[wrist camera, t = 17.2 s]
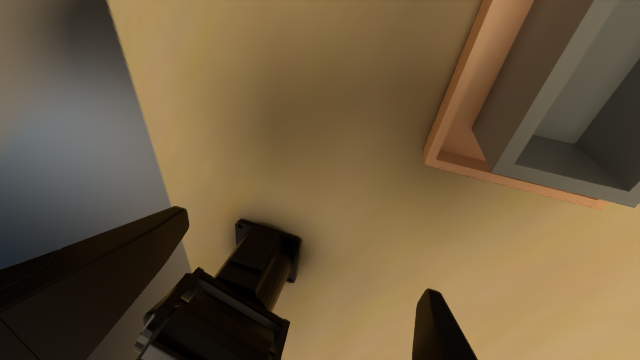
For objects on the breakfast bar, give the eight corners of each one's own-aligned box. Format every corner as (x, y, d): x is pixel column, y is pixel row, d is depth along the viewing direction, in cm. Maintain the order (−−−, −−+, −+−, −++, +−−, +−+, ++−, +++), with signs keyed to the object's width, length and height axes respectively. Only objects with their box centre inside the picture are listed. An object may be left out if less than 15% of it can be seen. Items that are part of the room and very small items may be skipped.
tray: (582, 189, 16) (601, 209, 15) (422, 149, 18) (423, 164, 16) (950, -235, 8) (1095, -298, 6) (581, -246, 9) (617, -299, 7)
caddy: (574, 151, 15) (634, 207, 11) (471, 128, 16) (491, 172, 12) (808, -154, 9) (1159, -291, 5) (615, -166, 9) (767, -292, 5)
